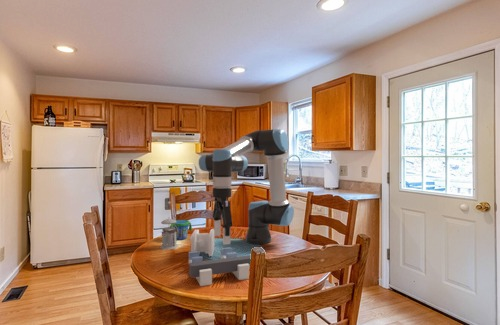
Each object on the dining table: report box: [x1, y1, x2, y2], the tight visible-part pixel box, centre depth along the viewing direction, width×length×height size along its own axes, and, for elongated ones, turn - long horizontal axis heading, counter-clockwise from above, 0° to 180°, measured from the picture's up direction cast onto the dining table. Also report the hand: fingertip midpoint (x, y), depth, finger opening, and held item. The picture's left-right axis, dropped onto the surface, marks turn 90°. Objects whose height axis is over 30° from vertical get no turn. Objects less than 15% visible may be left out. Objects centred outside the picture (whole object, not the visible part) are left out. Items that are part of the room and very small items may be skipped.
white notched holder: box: [188, 246, 251, 287], centre depth 129 cm, size 20×26×6 cm
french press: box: [159, 201, 179, 251], centre depth 163 cm, size 10×12×25 cm
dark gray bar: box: [188, 254, 250, 279], centre depth 121 cm, size 26×4×4 cm, turn 111°
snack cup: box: [169, 219, 193, 241], centre depth 181 cm, size 16×10×10 cm
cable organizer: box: [189, 228, 215, 257], centre depth 151 cm, size 15×11×12 cm
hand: (221, 239), depth 121 cm, fingers open, 13 cm apart
